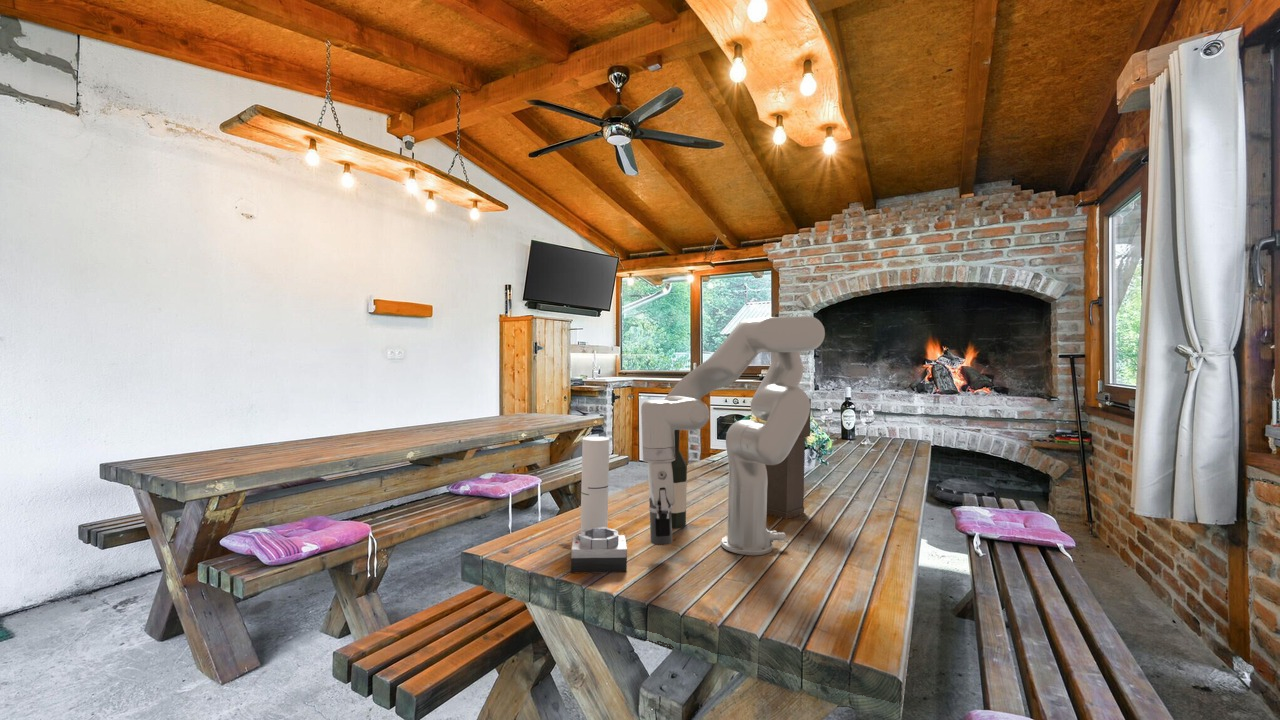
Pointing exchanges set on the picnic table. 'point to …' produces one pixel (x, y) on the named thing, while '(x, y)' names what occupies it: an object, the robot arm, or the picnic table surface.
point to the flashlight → (654, 539)
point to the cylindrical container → (594, 482)
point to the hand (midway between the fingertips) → (661, 530)
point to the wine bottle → (679, 486)
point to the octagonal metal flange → (599, 551)
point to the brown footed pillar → (788, 480)
